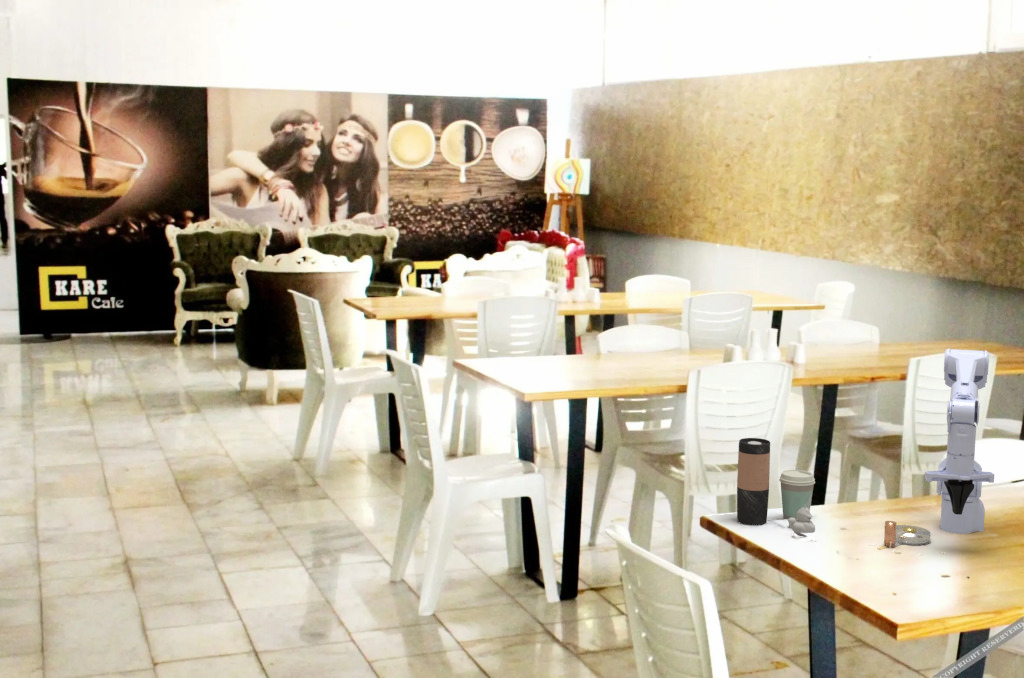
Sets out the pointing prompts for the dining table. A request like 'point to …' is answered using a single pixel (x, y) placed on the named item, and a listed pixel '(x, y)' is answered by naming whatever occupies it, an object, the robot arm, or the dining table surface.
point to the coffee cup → (796, 491)
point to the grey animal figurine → (802, 522)
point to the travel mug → (753, 481)
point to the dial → (904, 535)
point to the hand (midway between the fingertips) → (957, 513)
